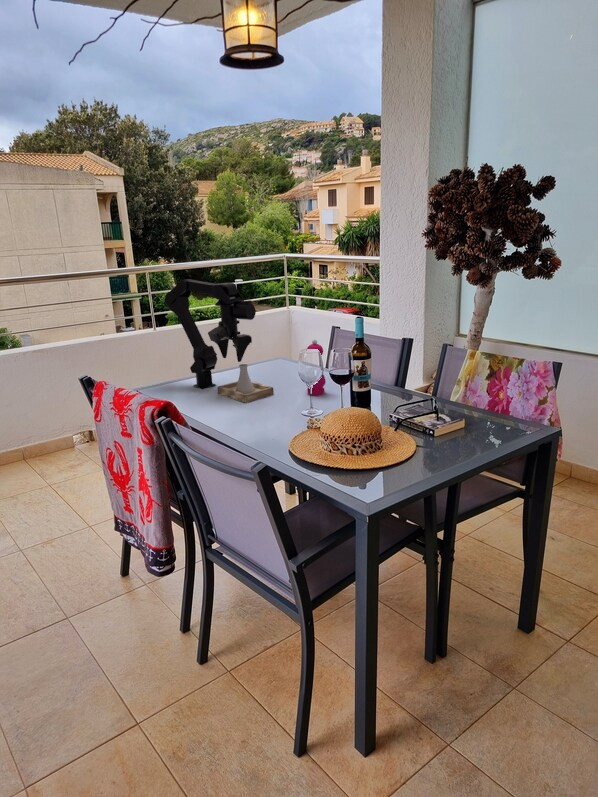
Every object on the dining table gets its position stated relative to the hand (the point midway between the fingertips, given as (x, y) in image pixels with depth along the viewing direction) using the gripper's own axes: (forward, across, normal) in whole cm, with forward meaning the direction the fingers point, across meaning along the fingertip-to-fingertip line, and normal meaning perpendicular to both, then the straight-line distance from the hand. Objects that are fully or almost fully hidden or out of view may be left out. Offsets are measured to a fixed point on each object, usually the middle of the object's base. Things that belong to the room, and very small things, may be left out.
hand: (232, 359), depth 208 cm
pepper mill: (+12, +26, +18) cm, 34 cm away
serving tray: (+12, +7, 0) cm, 14 cm away
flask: (+11, +7, 0) cm, 13 cm away
